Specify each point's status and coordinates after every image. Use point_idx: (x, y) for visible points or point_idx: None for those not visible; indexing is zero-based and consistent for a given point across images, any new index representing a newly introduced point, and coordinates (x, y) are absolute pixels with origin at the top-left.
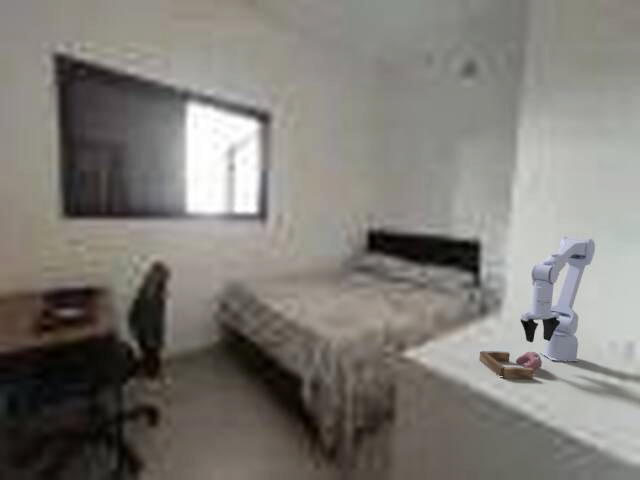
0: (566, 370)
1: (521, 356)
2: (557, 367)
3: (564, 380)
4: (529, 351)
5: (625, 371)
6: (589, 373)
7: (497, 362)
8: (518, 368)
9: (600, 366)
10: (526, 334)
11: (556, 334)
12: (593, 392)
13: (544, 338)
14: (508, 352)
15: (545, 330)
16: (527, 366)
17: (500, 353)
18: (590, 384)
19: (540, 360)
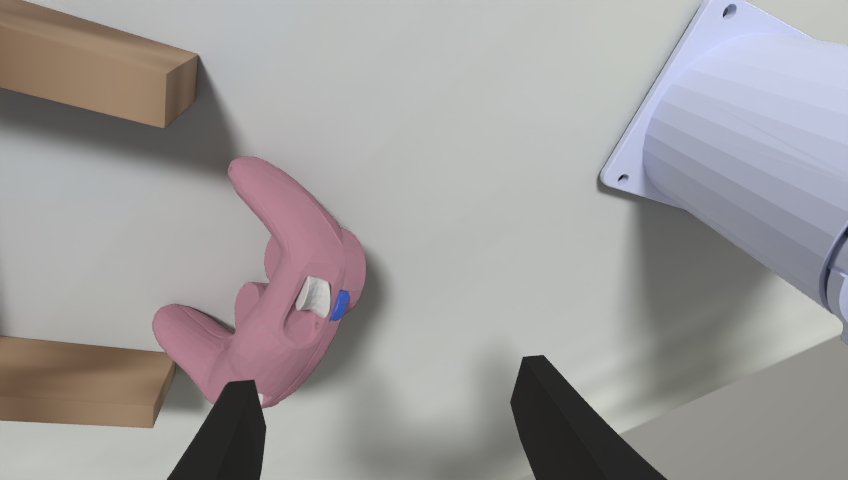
0: (514, 305)
1: (258, 214)
2: (510, 264)
3: (362, 393)
4: (306, 287)
5: (776, 344)
6: (589, 345)
7: None
8: (30, 412)
9: (761, 287)
10: (192, 467)
11: (832, 289)
12: (377, 471)
13: (523, 373)
14: (162, 103)
15: (576, 472)
16: (171, 357)
17: (30, 93)
18: (447, 426)
19: (264, 407)
